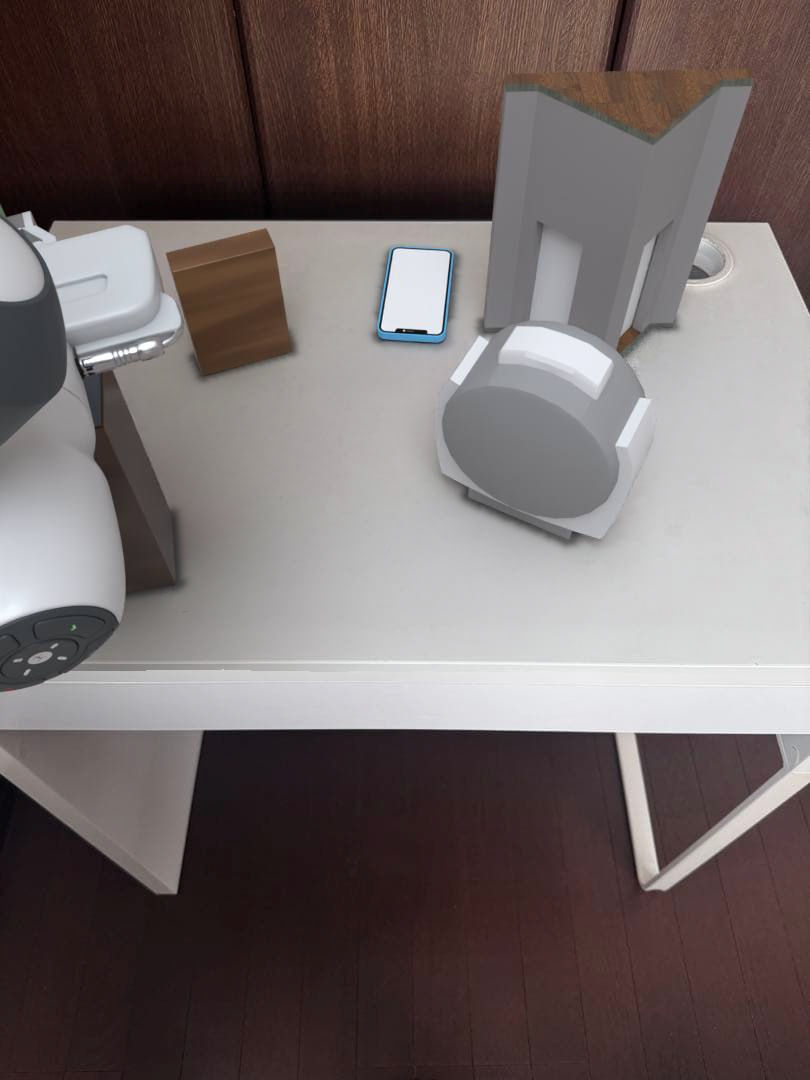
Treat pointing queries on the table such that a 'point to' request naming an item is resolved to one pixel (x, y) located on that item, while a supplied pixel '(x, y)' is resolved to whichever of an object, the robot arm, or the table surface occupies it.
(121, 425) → the pedestal
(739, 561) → the table surface
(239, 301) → the wooden block
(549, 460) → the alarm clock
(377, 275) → the table surface
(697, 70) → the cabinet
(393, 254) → the smartphone
